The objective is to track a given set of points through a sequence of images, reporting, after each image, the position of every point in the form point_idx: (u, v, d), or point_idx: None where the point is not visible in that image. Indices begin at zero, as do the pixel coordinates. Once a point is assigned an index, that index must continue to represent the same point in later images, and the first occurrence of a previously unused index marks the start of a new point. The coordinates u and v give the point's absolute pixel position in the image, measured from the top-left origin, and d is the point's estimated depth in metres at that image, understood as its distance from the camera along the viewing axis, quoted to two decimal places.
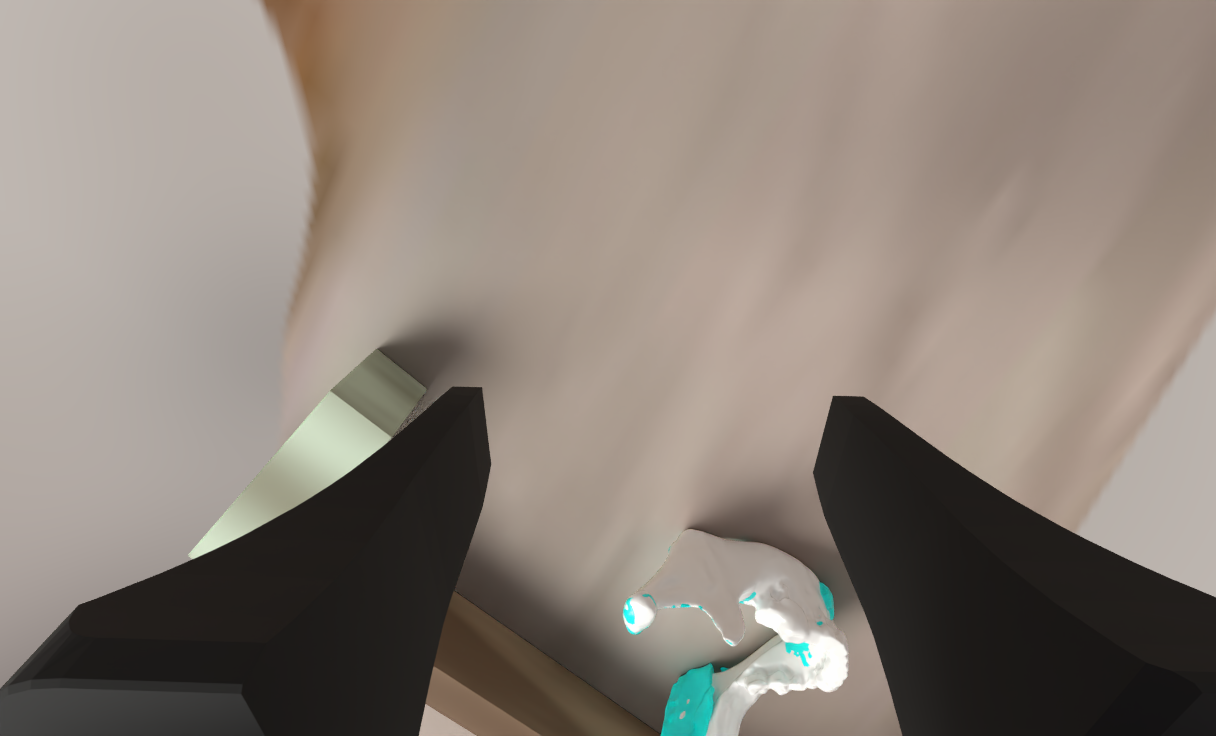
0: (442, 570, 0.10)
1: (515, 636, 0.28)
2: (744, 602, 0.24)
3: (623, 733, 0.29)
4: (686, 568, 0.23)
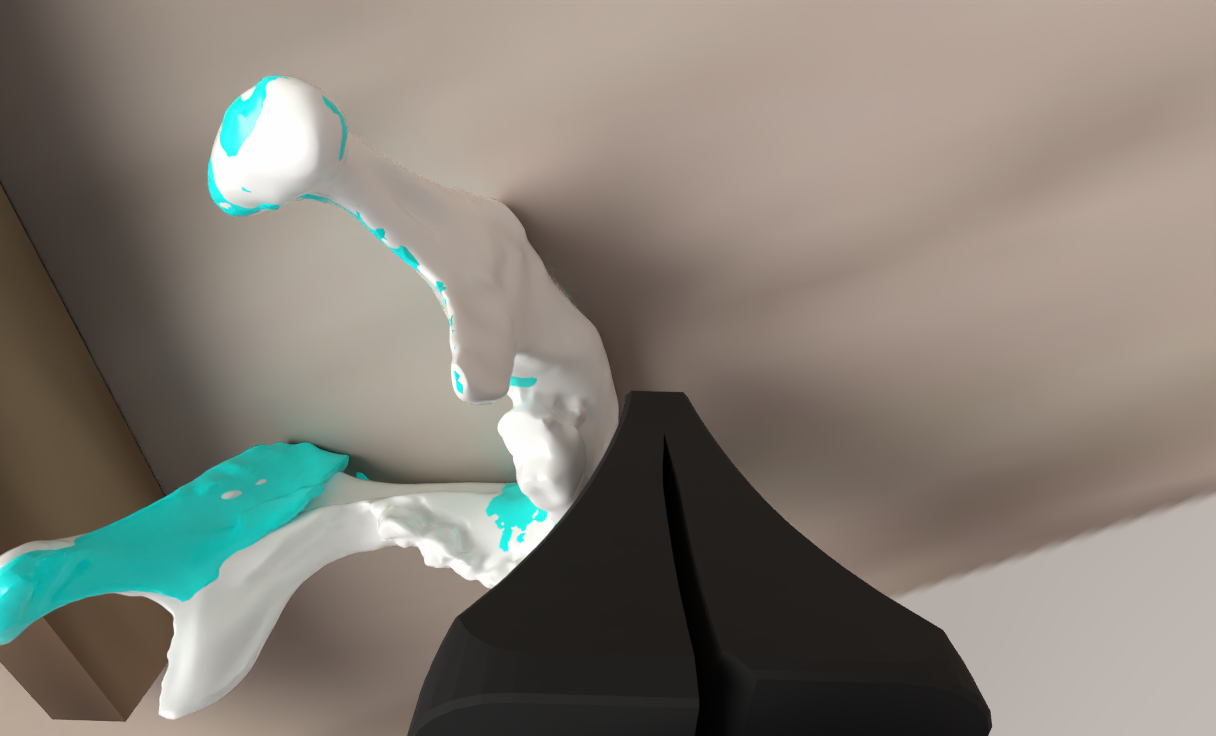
0: None
1: None
2: None
3: (76, 442, 0.14)
4: (462, 222, 0.09)
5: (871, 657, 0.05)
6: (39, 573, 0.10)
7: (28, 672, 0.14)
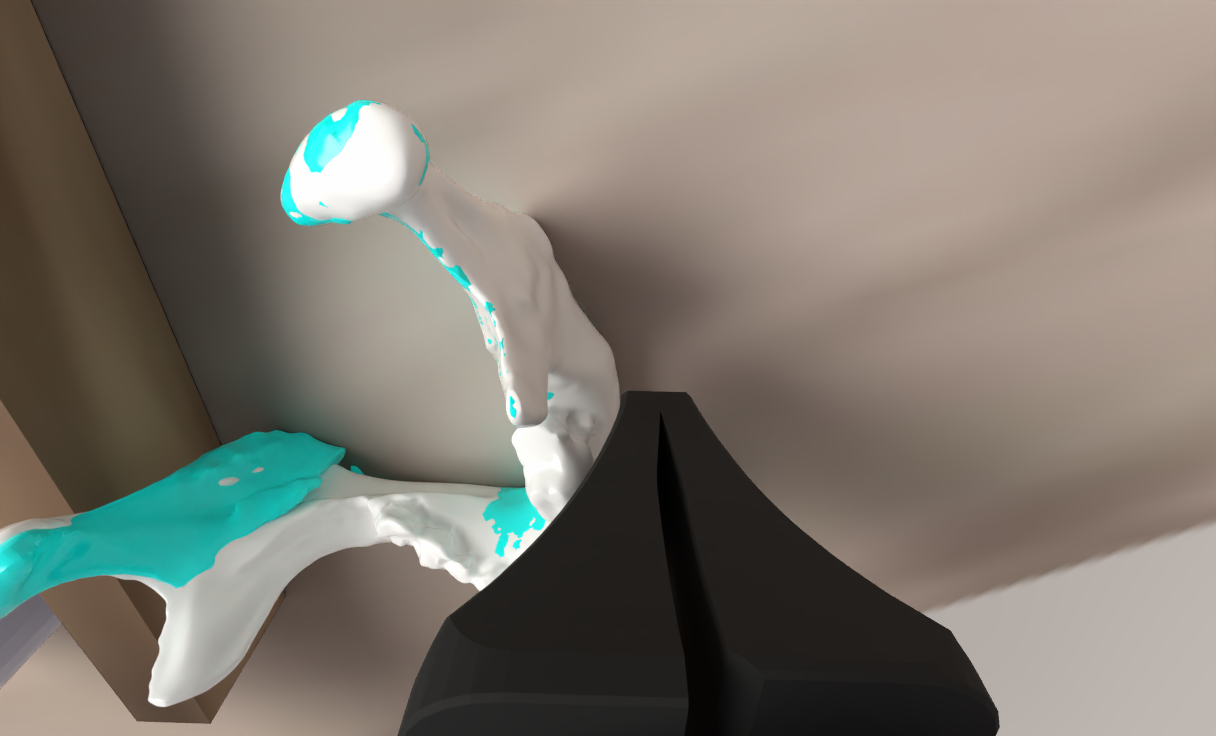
0: None
1: (67, 103, 0.11)
2: None
3: (171, 444, 0.14)
4: (504, 240, 0.09)
5: (878, 659, 0.05)
6: (38, 552, 0.10)
7: (119, 674, 0.14)
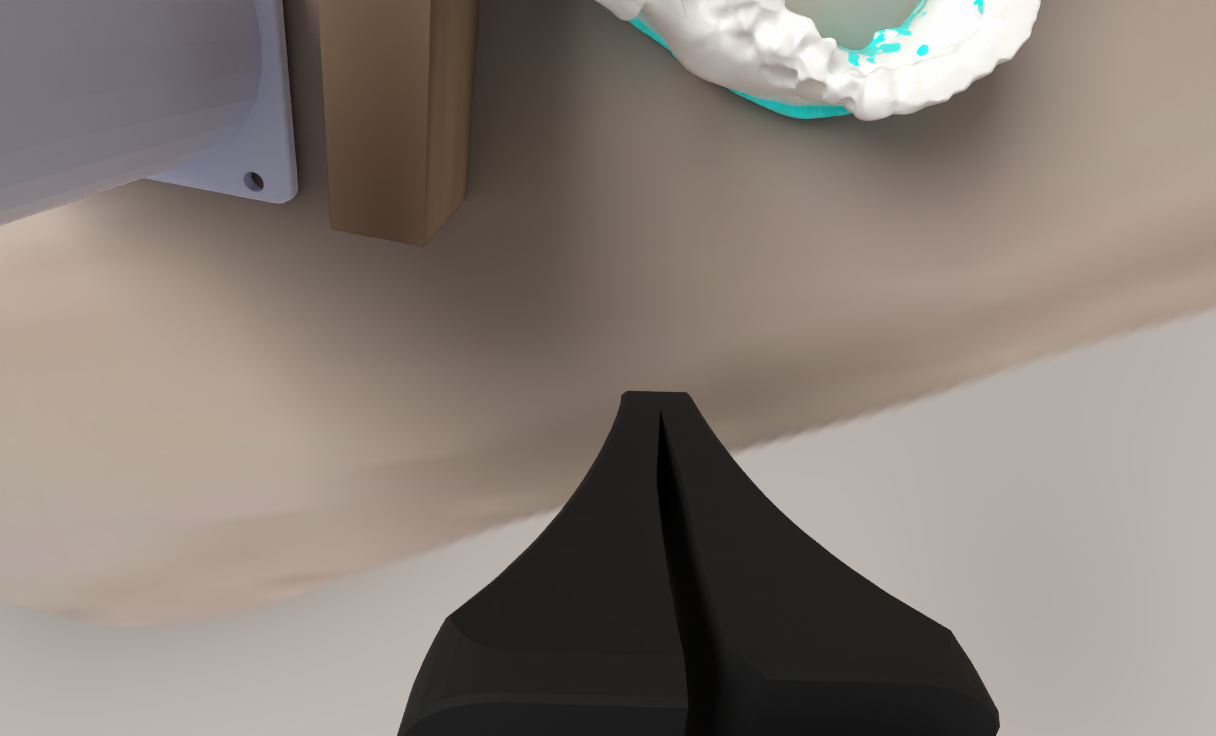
0: None
1: None
2: None
3: None
4: None
5: (878, 657, 0.05)
6: None
7: (349, 127, 0.11)
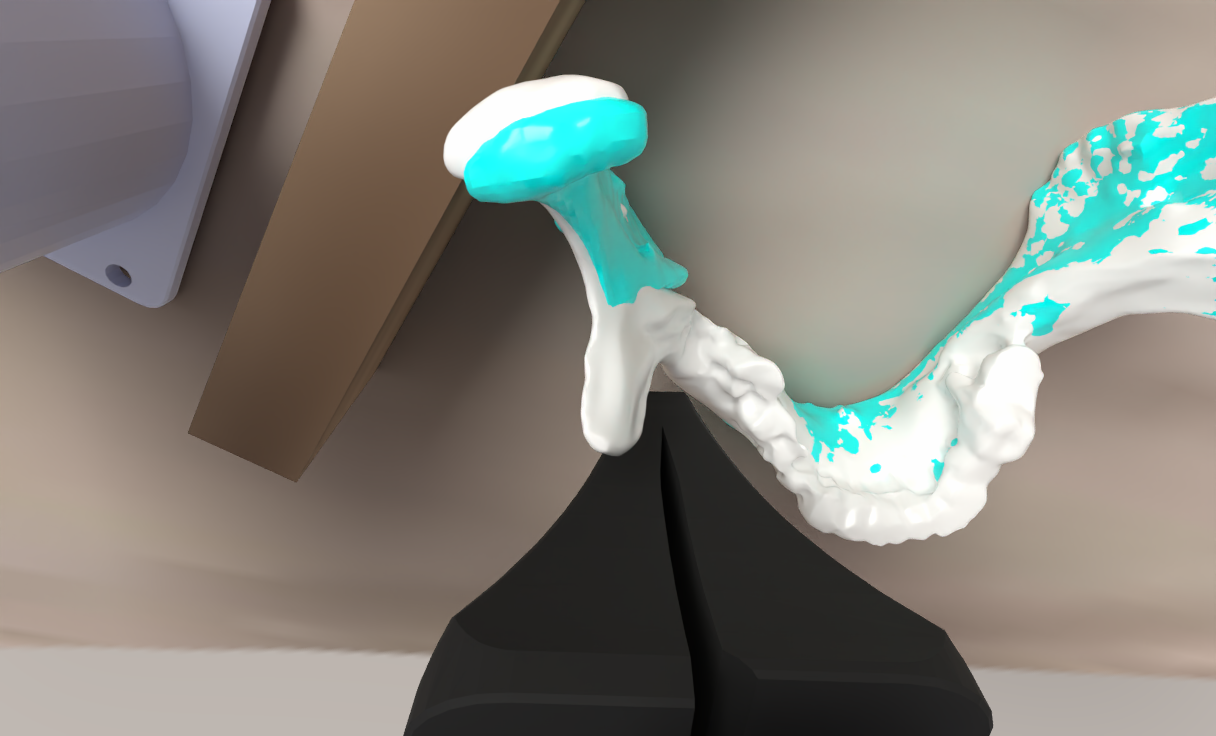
0: None
1: None
2: (1029, 316, 0.10)
3: None
4: None
5: (872, 659, 0.05)
6: None
7: (251, 360, 0.09)
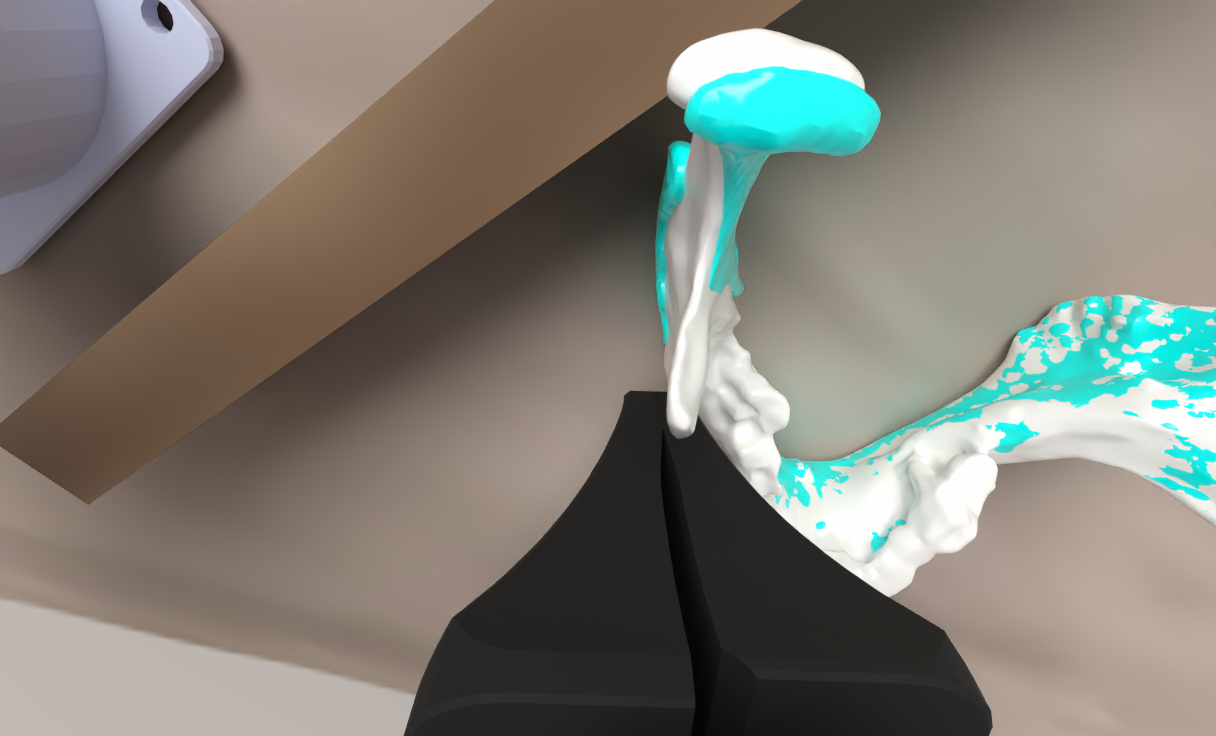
0: None
1: None
2: (1001, 433, 0.11)
3: None
4: None
5: (871, 659, 0.05)
6: None
7: (77, 400, 0.10)
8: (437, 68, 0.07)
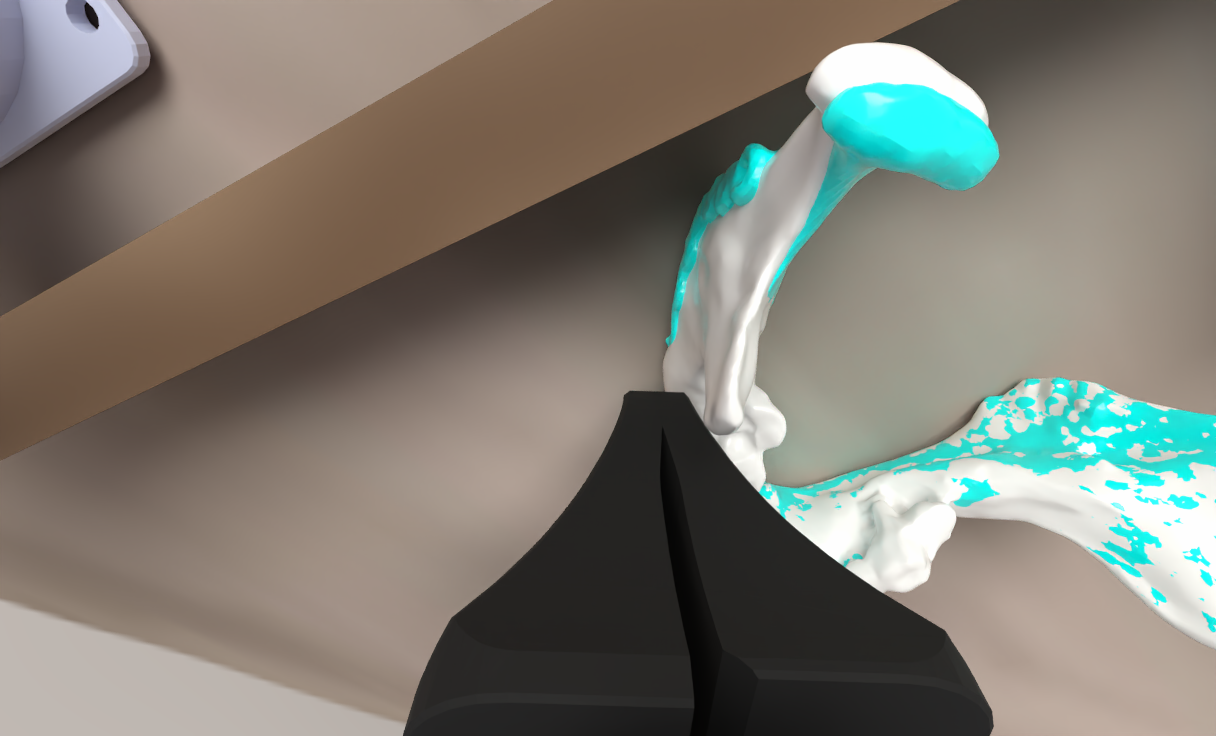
0: None
1: None
2: (964, 487, 0.12)
3: None
4: None
5: (872, 659, 0.05)
6: None
7: None
8: (337, 139, 0.08)
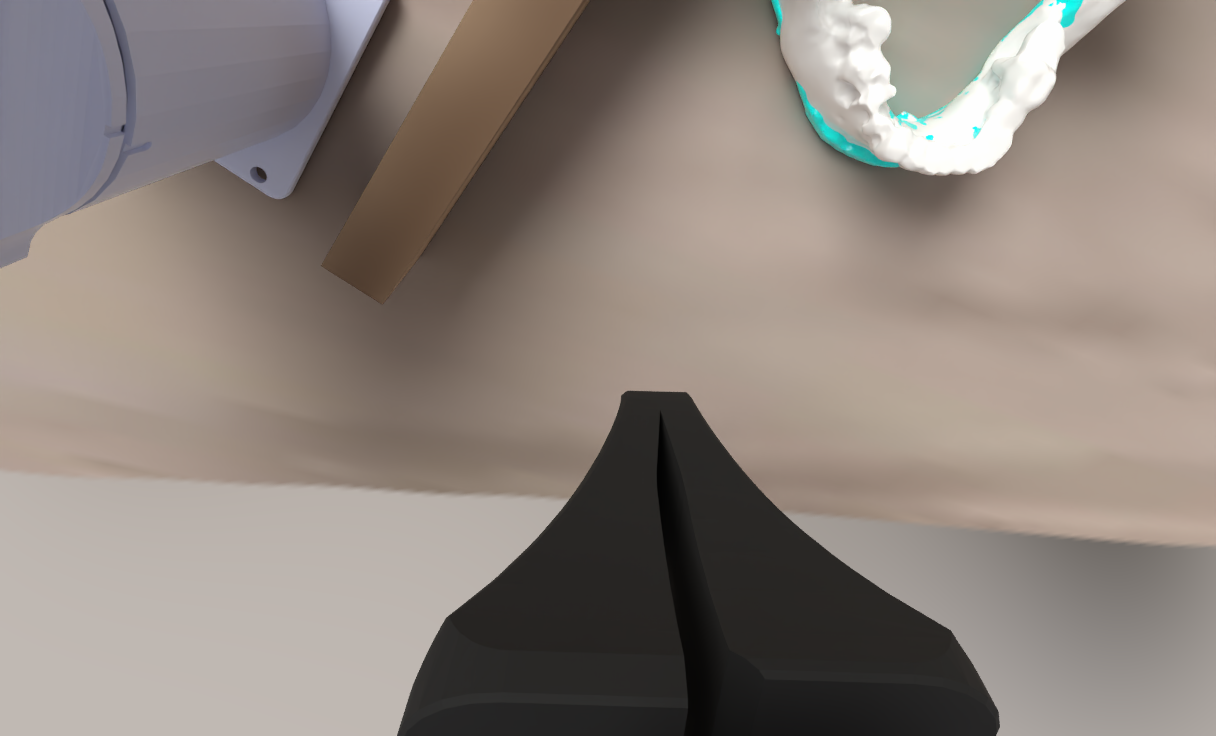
0: None
1: None
2: (1061, 4, 0.15)
3: (531, 85, 0.17)
4: None
5: (878, 659, 0.05)
6: None
7: (370, 218, 0.16)
8: None
